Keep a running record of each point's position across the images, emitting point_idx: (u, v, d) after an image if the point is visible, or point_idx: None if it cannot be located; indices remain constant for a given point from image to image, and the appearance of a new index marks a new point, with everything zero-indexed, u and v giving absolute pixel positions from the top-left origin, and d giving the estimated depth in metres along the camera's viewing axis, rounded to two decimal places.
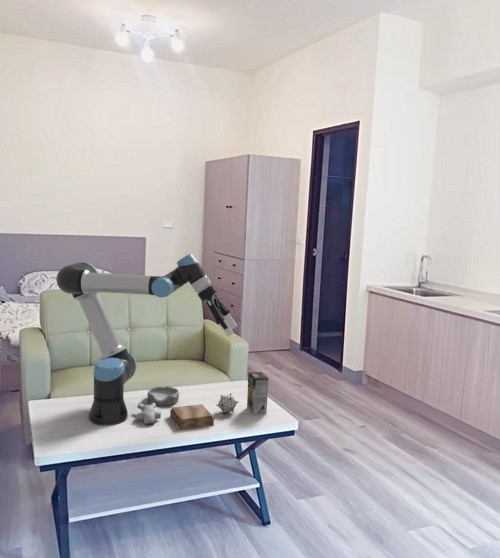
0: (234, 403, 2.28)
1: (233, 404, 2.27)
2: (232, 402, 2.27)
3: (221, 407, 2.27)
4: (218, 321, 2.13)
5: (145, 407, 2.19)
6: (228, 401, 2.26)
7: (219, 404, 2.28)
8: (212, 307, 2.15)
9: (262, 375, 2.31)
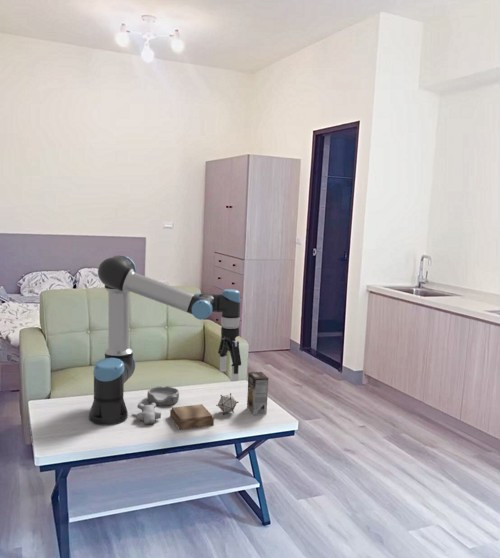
0: (234, 403, 2.28)
1: (233, 404, 2.27)
2: (232, 402, 2.27)
3: (221, 407, 2.27)
4: (237, 365, 2.17)
5: (145, 407, 2.19)
6: (228, 401, 2.26)
7: (219, 404, 2.28)
8: (236, 349, 2.19)
9: (262, 375, 2.31)
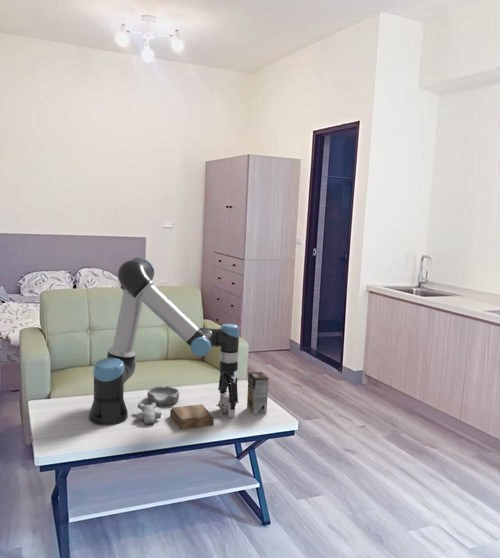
0: None
1: None
2: None
3: (221, 407, 2.27)
4: (234, 401, 2.21)
5: (145, 407, 2.19)
6: None
7: (219, 404, 2.28)
8: (234, 386, 2.22)
9: (262, 375, 2.31)
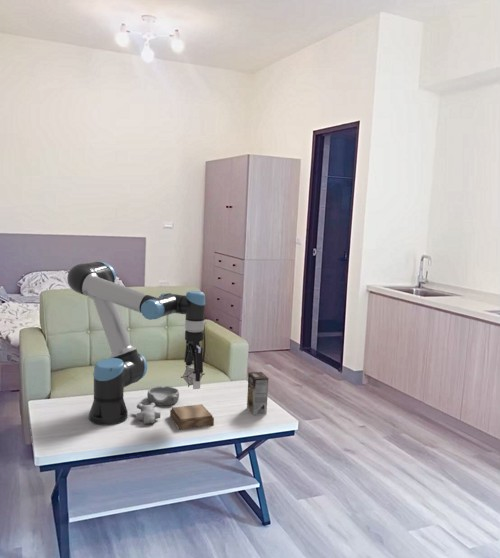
0: None
1: None
2: None
3: (186, 379, 2.15)
4: (198, 372, 2.09)
5: (145, 407, 2.19)
6: None
7: (184, 376, 2.16)
8: (199, 356, 2.09)
9: (262, 375, 2.31)
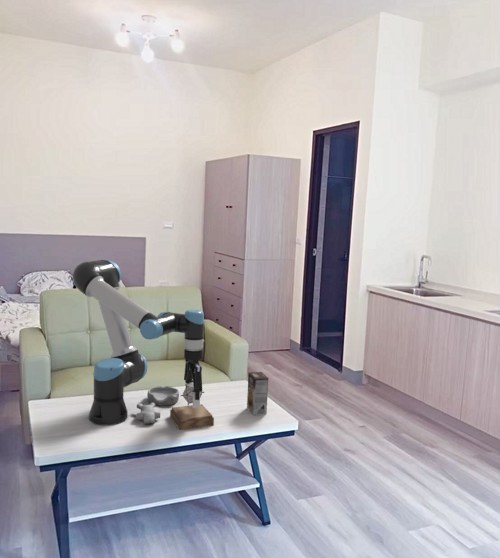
0: None
1: None
2: None
3: (186, 397, 2.15)
4: (198, 391, 2.10)
5: (145, 407, 2.19)
6: None
7: (184, 394, 2.16)
8: (198, 374, 2.10)
9: (262, 375, 2.31)
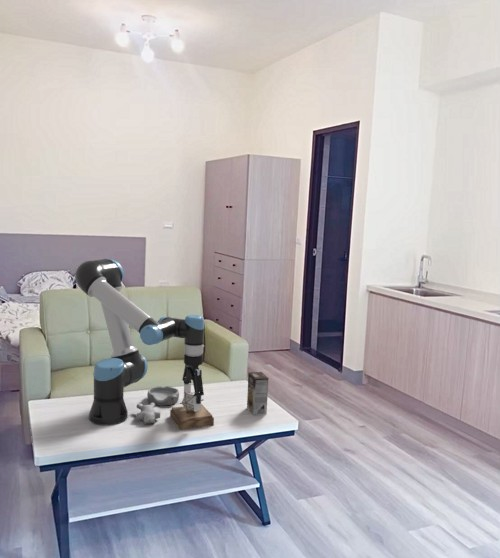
0: None
1: None
2: None
3: (185, 405, 2.16)
4: (199, 395, 2.08)
5: (144, 407, 2.19)
6: (192, 399, 2.15)
7: (183, 402, 2.17)
8: (199, 378, 2.10)
9: (262, 375, 2.31)
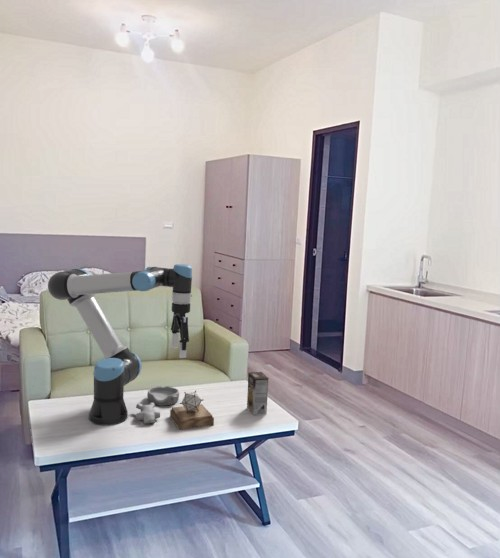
0: (198, 401, 2.17)
1: (197, 402, 2.16)
2: (197, 400, 2.16)
3: (185, 405, 2.16)
4: (184, 341, 2.12)
5: (144, 407, 2.19)
6: (192, 399, 2.15)
7: (183, 402, 2.17)
8: (185, 325, 2.14)
9: (262, 375, 2.31)
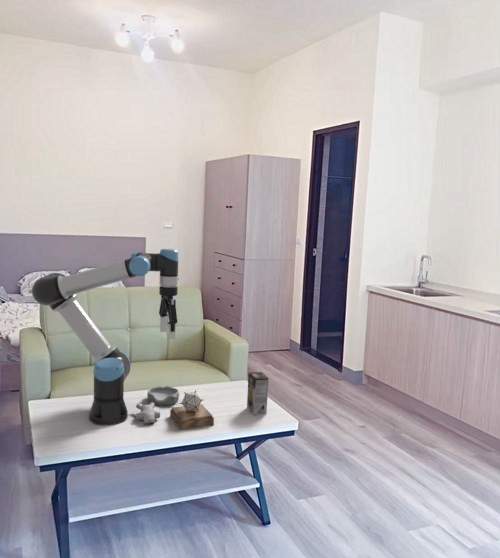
0: (198, 401, 2.17)
1: (197, 402, 2.16)
2: (197, 400, 2.16)
3: (185, 405, 2.16)
4: (173, 322, 2.19)
5: (144, 407, 2.19)
6: (192, 399, 2.15)
7: (183, 402, 2.17)
8: (173, 307, 2.21)
9: (262, 375, 2.31)
